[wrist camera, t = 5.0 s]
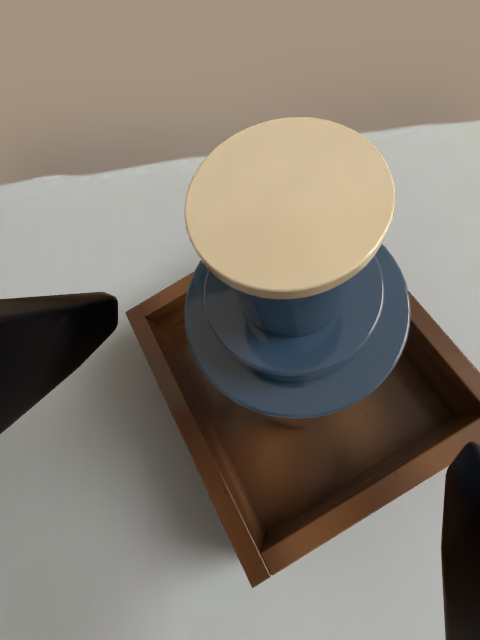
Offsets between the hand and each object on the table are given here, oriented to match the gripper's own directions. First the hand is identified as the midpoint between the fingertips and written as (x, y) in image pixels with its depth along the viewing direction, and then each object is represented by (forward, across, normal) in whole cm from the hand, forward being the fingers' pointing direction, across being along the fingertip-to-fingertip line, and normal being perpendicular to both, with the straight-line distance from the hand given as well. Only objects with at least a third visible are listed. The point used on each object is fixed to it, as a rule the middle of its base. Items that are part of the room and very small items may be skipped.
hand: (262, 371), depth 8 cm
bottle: (+8, 0, +5) cm, 9 cm away
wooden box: (+8, 0, +6) cm, 10 cm away
